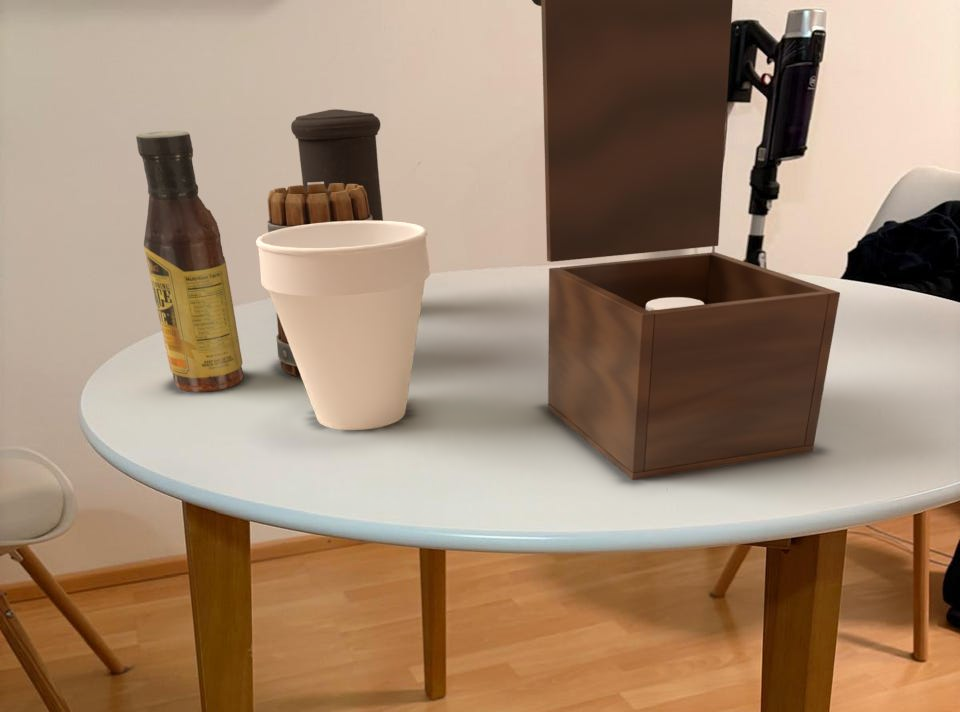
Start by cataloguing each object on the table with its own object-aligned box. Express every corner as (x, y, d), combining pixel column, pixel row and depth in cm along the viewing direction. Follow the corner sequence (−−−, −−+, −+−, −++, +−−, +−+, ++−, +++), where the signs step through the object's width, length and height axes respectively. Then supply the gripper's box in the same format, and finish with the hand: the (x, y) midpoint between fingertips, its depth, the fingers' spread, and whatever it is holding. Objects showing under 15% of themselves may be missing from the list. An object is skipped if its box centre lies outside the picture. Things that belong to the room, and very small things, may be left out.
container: (316, 308, 105) (292, 109, 95) (394, 304, 106) (378, 105, 95) (313, 327, 98) (286, 113, 87) (396, 322, 99) (379, 109, 88)
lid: (734, -20, 61) (727, -18, 62) (545, -16, 58) (540, -14, 59) (718, 245, 69) (713, 245, 70) (550, 261, 66) (546, 261, 67)
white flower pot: (263, 412, 74) (233, 232, 67) (399, 385, 79) (384, 214, 72) (316, 459, 65) (288, 256, 58) (466, 425, 70) (458, 234, 63)
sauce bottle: (174, 380, 83) (121, 131, 72) (244, 372, 84) (201, 127, 74) (174, 401, 78) (117, 137, 67) (249, 392, 79) (204, 132, 68)
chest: (812, 455, 63) (840, 292, 57) (632, 484, 60) (642, 314, 54) (701, 391, 75) (715, 251, 70) (547, 412, 72) (548, 268, 66)
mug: (398, 378, 81) (383, 192, 73) (279, 387, 80) (250, 200, 72) (385, 335, 94) (371, 173, 86) (282, 342, 93) (258, 179, 85)
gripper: (594, -131, 76) (671, 108, 71) (443, -132, 73) (513, 117, 68) (624, -235, 69) (711, 23, 64) (458, -241, 66) (537, 29, 61)
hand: (609, 71), depth 66 cm, fingers closed
